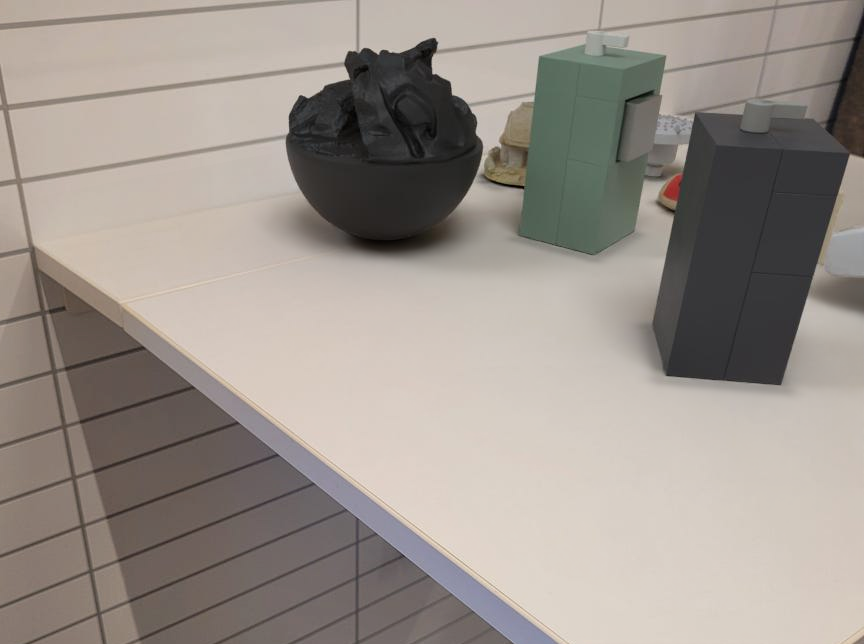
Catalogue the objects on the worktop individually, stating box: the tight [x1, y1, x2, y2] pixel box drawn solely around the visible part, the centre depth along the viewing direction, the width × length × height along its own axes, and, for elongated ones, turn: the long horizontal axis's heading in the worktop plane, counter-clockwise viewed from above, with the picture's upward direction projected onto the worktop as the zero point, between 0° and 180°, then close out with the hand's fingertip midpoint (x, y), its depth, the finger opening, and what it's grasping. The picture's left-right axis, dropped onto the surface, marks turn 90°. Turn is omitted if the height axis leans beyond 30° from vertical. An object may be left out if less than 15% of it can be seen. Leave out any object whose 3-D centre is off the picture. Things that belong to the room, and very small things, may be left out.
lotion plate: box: [817, 188, 845, 265], centre depth 72 cm, size 1×6×5 cm, turn 173°
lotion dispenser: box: [651, 98, 851, 385], centre depth 73 cm, size 9×10×20 cm
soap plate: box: [616, 93, 663, 162], centre depth 94 cm, size 1×6×5 cm, turn 143°
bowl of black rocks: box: [285, 37, 484, 241], centre depth 95 cm, size 20×20×19 cm
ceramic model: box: [483, 101, 534, 187], centre depth 116 cm, size 14×11×10 cm
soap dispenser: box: [518, 30, 667, 256], centre depth 97 cm, size 9×10×20 cm
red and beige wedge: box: [657, 173, 683, 212], centre depth 110 cm, size 7×10×4 cm
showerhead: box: [645, 113, 693, 178], centre depth 121 cm, size 9×7×10 cm
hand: (839, 238), depth 95 cm, fingers closed
